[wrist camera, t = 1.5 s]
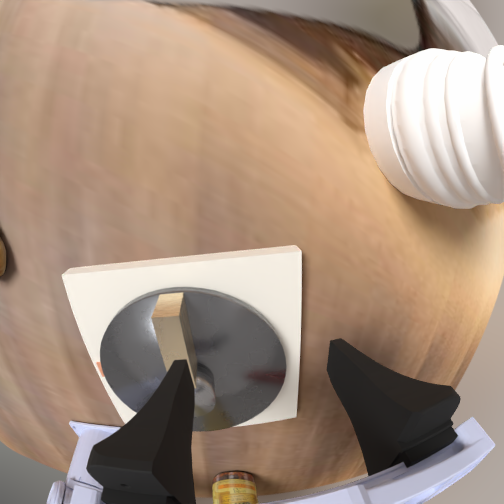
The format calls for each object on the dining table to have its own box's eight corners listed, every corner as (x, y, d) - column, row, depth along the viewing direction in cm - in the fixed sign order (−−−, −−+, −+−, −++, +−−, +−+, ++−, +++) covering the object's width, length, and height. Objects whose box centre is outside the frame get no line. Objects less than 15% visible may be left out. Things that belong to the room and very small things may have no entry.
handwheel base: (292, 407, 26) (296, 418, 24) (130, 418, 24) (127, 429, 22) (295, 245, 20) (302, 251, 19) (69, 268, 19) (60, 275, 17)
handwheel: (283, 414, 24) (292, 444, 20) (135, 424, 22) (129, 453, 18) (282, 275, 19) (299, 302, 15) (80, 294, 17) (56, 320, 14)
